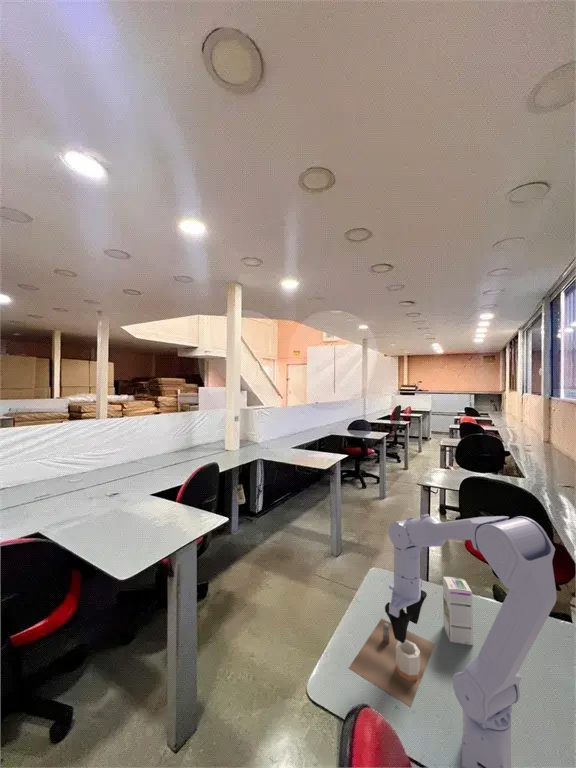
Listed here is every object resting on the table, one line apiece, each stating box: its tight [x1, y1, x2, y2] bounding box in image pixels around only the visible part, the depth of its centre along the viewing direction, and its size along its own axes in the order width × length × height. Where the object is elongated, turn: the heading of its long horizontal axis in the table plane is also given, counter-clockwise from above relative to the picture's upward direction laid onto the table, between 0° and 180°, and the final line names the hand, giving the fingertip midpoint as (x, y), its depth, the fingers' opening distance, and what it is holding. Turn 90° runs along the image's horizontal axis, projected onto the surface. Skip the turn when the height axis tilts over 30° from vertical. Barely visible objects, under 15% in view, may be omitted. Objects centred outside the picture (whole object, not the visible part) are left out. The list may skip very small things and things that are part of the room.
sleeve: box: [396, 640, 420, 681], centre depth 71 cm, size 5×5×5 cm
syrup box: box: [442, 576, 474, 646], centre depth 81 cm, size 6×6×14 cm
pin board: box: [348, 618, 436, 708], centre depth 75 cm, size 20×14×5 cm
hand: (406, 630), depth 72 cm, fingers open, 7 cm apart
